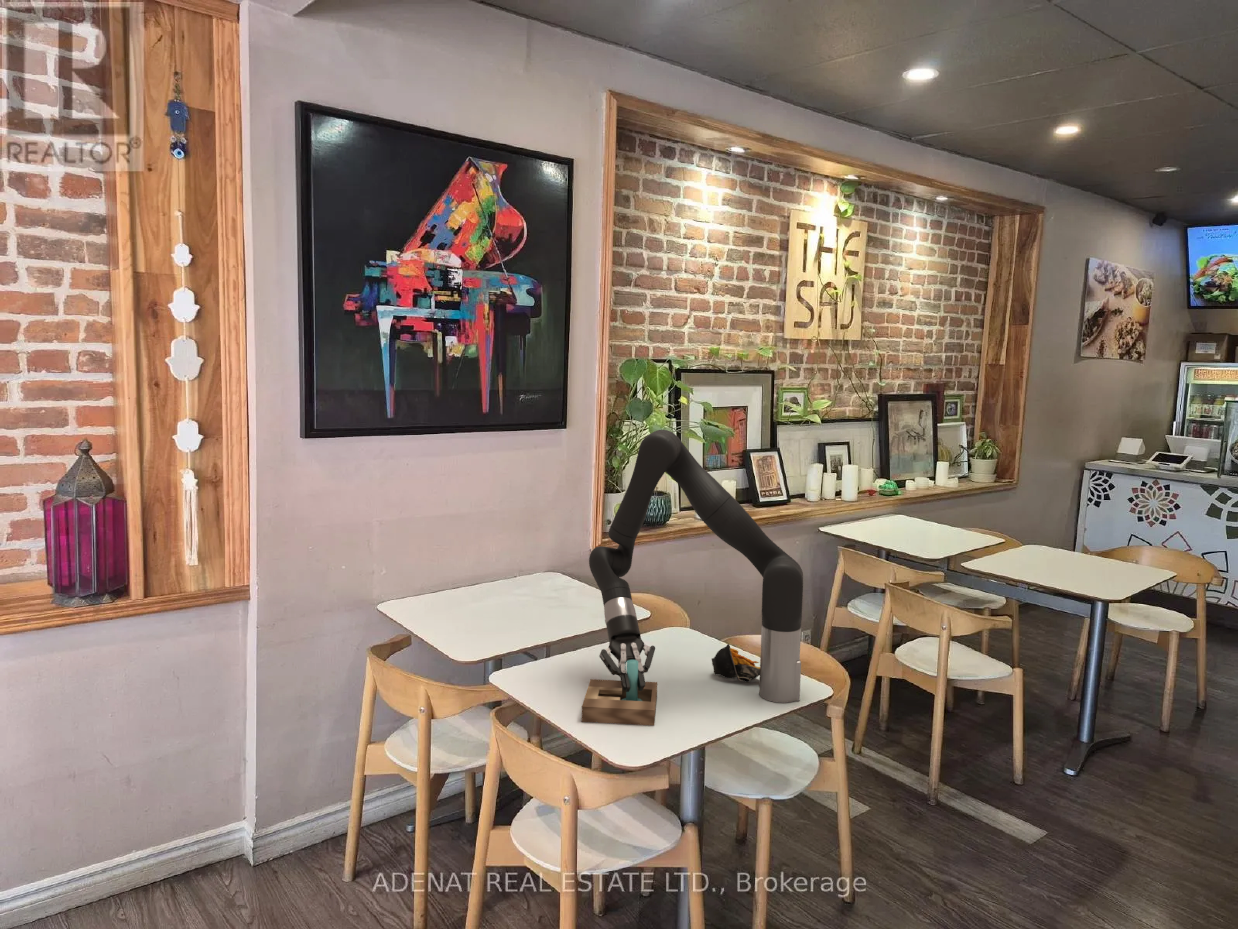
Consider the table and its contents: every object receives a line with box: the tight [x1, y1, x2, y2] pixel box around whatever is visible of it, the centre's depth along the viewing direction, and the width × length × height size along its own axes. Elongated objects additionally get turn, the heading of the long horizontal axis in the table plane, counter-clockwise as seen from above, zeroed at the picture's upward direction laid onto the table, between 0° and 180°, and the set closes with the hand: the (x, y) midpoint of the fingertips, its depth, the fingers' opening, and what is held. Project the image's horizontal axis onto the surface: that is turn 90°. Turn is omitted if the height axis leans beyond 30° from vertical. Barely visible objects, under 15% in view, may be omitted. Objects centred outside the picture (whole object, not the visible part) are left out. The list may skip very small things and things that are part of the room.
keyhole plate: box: [581, 678, 658, 726], centre depth 188 cm, size 16×16×4 cm
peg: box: [622, 660, 642, 701], centre depth 187 cm, size 5×5×11 cm
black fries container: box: [711, 643, 760, 683], centre depth 207 cm, size 9×11×18 cm
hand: (634, 689), depth 185 cm, fingers closed on peg, 2 cm apart
